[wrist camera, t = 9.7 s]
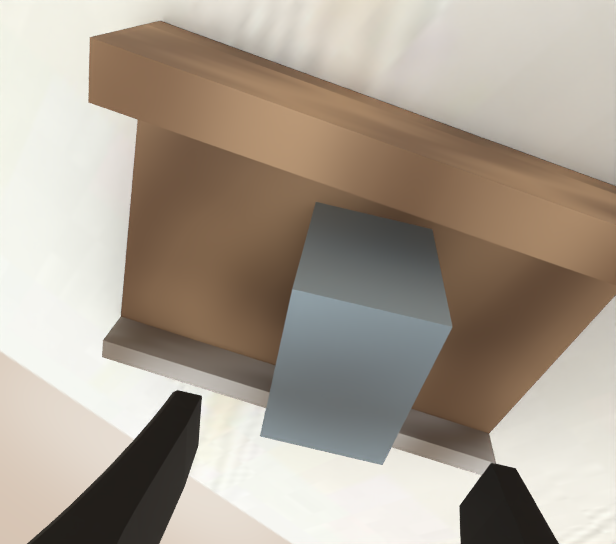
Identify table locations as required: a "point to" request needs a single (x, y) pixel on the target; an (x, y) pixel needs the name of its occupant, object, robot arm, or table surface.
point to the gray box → (357, 334)
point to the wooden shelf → (345, 194)
